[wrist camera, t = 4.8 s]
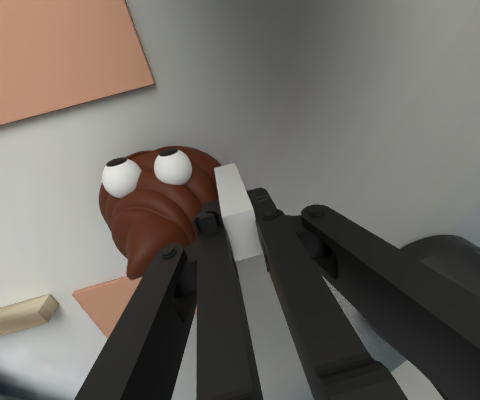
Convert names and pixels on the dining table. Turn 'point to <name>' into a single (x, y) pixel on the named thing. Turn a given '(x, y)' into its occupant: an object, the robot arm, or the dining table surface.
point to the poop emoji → (155, 200)
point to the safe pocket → (27, 314)
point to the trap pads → (71, 85)
